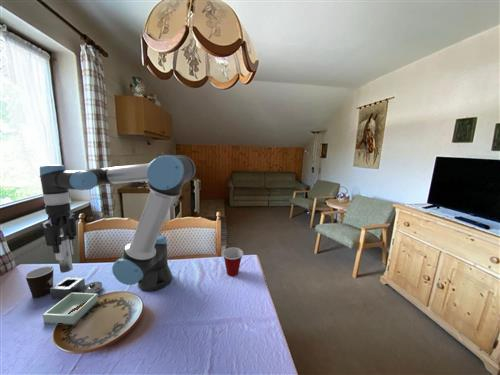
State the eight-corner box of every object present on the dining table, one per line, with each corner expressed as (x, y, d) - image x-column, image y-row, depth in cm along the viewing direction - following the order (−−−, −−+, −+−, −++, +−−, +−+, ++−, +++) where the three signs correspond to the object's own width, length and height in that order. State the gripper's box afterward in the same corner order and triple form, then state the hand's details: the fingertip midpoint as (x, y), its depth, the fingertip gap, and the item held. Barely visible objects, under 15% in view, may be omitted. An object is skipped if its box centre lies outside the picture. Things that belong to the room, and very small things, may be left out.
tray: (98, 301, 87) (97, 293, 87) (73, 324, 76) (72, 315, 75) (72, 300, 88) (71, 292, 87) (43, 323, 76) (42, 314, 75)
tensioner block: (85, 287, 96) (84, 277, 95) (70, 300, 88) (68, 289, 87) (68, 287, 96) (66, 277, 95) (51, 299, 88) (49, 288, 87)
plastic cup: (219, 278, 106) (219, 256, 104) (225, 266, 116) (225, 246, 114) (240, 280, 104) (241, 258, 102) (244, 268, 115) (244, 248, 113)
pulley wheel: (106, 286, 97) (105, 279, 96) (94, 296, 90) (93, 289, 89) (91, 285, 97) (90, 279, 96) (78, 296, 90) (77, 289, 90)
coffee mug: (39, 301, 86) (35, 279, 85) (23, 297, 88) (19, 276, 86) (68, 284, 98) (65, 264, 96) (53, 281, 99) (50, 262, 98)
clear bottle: (75, 267, 92) (70, 234, 89) (67, 272, 88) (62, 237, 85) (66, 267, 92) (61, 233, 89) (57, 272, 88) (52, 237, 85)
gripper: (67, 198, 93) (73, 247, 97) (25, 208, 77) (35, 267, 80) (83, 198, 93) (89, 247, 97) (45, 208, 76) (54, 267, 80)
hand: (65, 256), depth 89 cm, fingers closed on clear bottle, 4 cm apart
